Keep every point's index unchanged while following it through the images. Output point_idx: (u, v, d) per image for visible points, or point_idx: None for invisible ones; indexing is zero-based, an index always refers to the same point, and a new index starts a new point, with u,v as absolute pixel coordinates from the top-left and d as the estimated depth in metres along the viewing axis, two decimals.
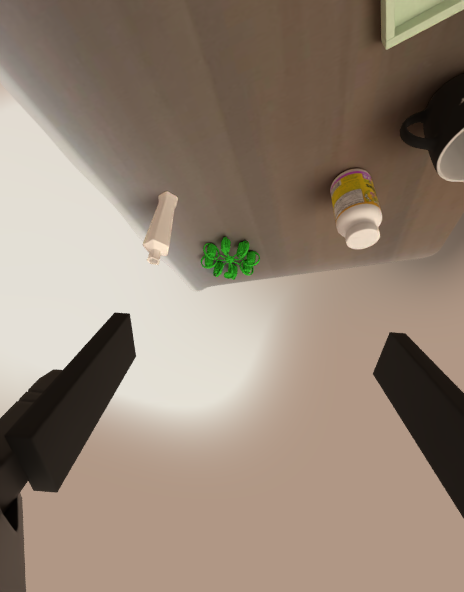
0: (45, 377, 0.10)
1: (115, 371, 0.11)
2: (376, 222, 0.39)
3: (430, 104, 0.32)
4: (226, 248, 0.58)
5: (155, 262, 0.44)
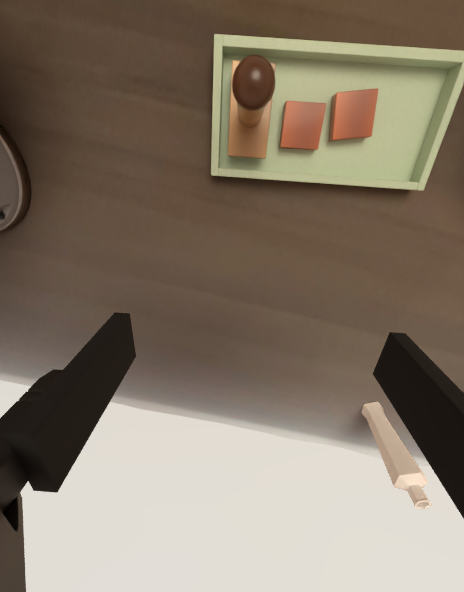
0: (45, 377, 0.10)
1: (115, 371, 0.11)
2: None
3: None
4: None
5: (426, 504, 0.34)
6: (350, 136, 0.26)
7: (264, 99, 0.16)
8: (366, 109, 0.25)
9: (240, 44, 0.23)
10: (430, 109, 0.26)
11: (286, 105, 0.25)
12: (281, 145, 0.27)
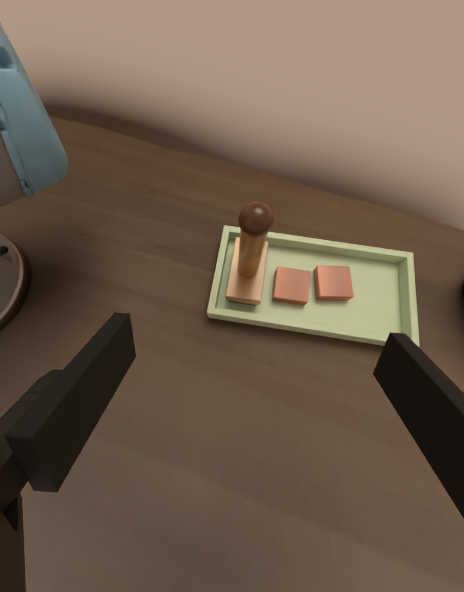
0: (45, 377, 0.10)
1: (115, 371, 0.11)
2: None
3: None
4: None
5: None
6: (334, 295, 0.30)
7: (265, 225, 0.19)
8: (343, 278, 0.30)
9: None
10: (395, 286, 0.32)
11: (277, 269, 0.31)
12: (274, 296, 0.30)
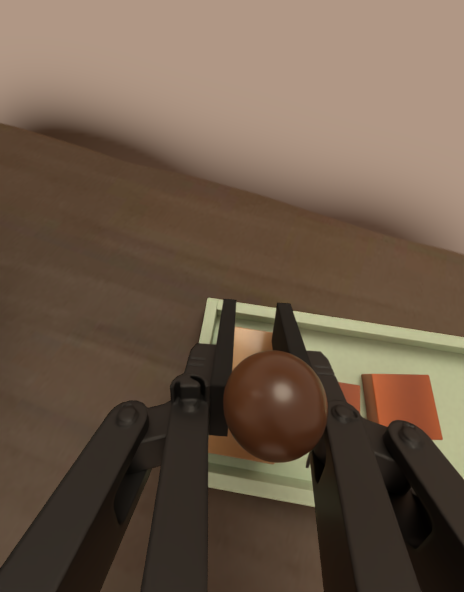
0: (195, 348, 0.11)
1: None
2: None
3: None
4: None
5: None
6: None
7: (306, 449, 0.06)
8: (420, 400, 0.17)
9: (239, 310, 0.18)
10: None
11: None
12: None
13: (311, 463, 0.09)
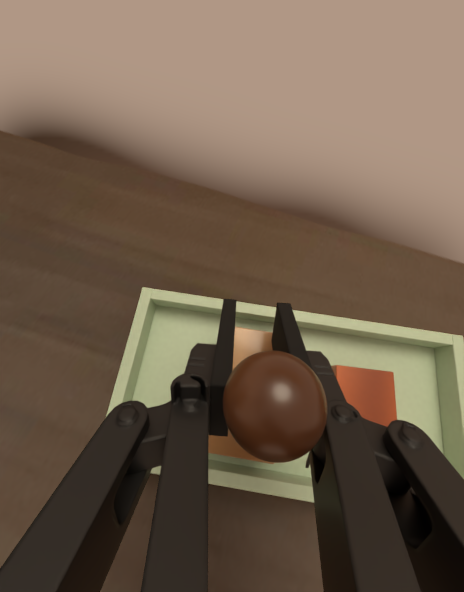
0: (195, 348, 0.11)
1: None
2: None
3: None
4: None
5: None
6: None
7: (306, 449, 0.06)
8: (381, 395, 0.17)
9: (172, 299, 0.19)
10: (432, 391, 0.19)
11: None
12: None
13: (311, 463, 0.09)
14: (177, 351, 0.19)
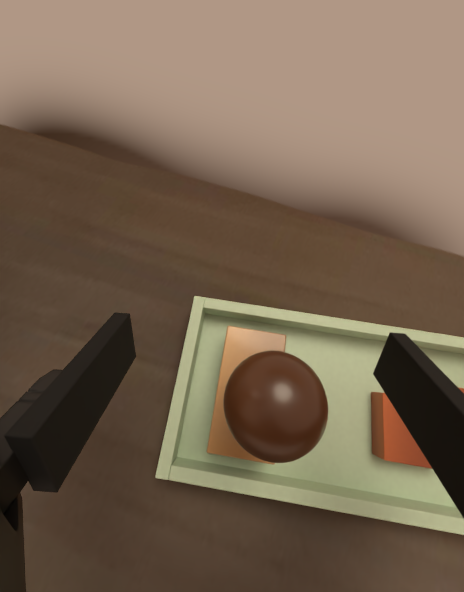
0: (45, 377, 0.10)
1: (115, 371, 0.11)
2: None
3: None
4: None
5: None
6: None
7: (307, 450, 0.06)
8: None
9: (225, 308, 0.18)
10: None
11: (383, 398, 0.17)
12: (385, 457, 0.16)
13: None
14: None
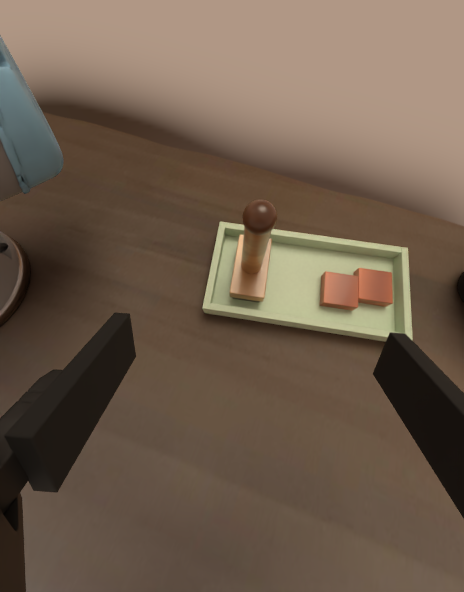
0: (45, 377, 0.10)
1: (115, 371, 0.11)
2: None
3: None
4: None
5: None
6: (373, 299, 0.30)
7: (269, 223, 0.20)
8: (384, 283, 0.30)
9: (238, 227, 0.32)
10: None
11: (325, 274, 0.31)
12: (324, 301, 0.30)
13: None
14: None
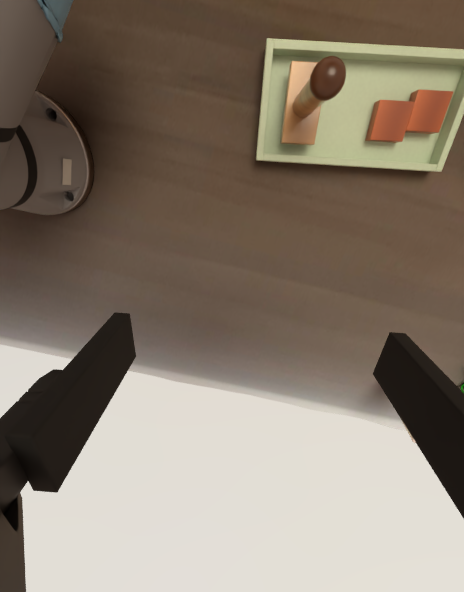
0: (45, 377, 0.10)
1: (115, 371, 0.11)
2: None
3: None
4: None
5: None
6: (421, 129, 0.31)
7: (336, 91, 0.20)
8: (439, 108, 0.30)
9: (288, 46, 0.27)
10: None
11: (379, 103, 0.30)
12: (371, 138, 0.31)
13: None
14: None
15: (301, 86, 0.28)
